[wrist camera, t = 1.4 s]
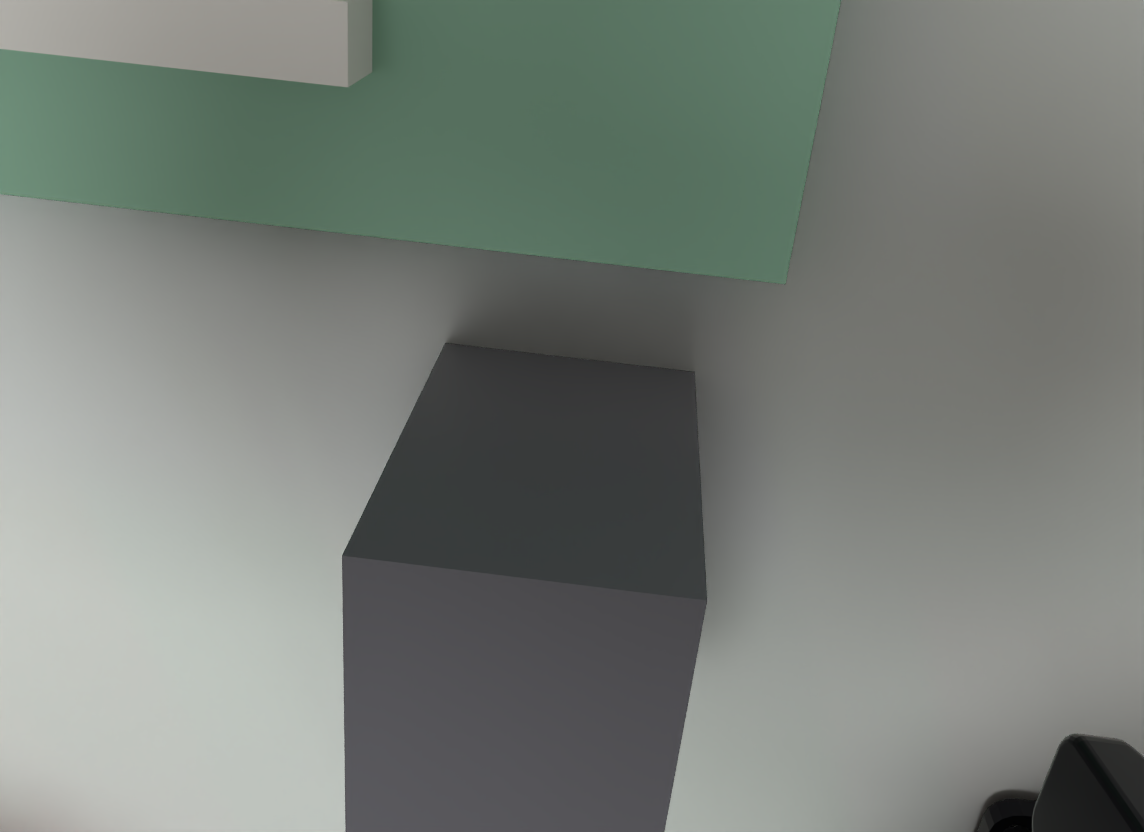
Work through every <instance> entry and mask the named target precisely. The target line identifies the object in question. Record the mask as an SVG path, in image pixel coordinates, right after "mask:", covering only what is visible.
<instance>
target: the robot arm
mask: <svg viewBox="0 0 1144 832" xmlns="http://www.w3.org/2000/svg"><path fill="white" fill-rule="evenodd" d="M1012 825H1017V826H1015V827H1010V826H1012ZM977 832H1144V757H1143V756H1142V755H1141V754H1140V753H1139V752H1137V751H1136V750H1135V749H1134V748H1133V747H1131V746H1130V745H1129V744H1127V743H1126V742H1124V741H1122V740H1119V739H1115V738H1108V737H1101V736H1093V735H1085V734H1072V735H1069V736H1067V737H1065V738H1064V739H1063V741H1062V742H1061V743H1060V745H1059V747H1058V749H1057V751H1056V754H1055V756H1054V759H1053V761H1052V764H1051V766H1050V769H1049V771H1048V774H1047V776H1046V779H1045V781H1044V783H1043V786H1042V788H1041V791H1040V793H1039V796H1038V798H1037V801H1029V800H1021V799H1005V800H1002V801H999V802H996V803H994V804H993V805H991V806H990V807H988V809H987V810H986V812H985V813H984V815H983V817H982V820H981V823H980V825H979V828H978V831H977Z"/></svg>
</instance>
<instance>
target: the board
mask: <svg viewBox="0 0 1144 832" xmlns="http://www.w3.org/2000/svg"><path fill="white" fill-rule="evenodd" d="M840 3H841V0H0V194H4V195H13V196H21V197H30V198H39V199H47V200H56V201H65V202H73V203H82V204H91V205H99V206H108V207H117V208H126V209H134V210H143V211H152V212H160V213H169V214H178V215H186V216H195V217H204V218H212V219H221V220H230V221H239V222H247V223H256V224H265V225H273V226H282V227H291V228H299V229H308V230H317V231H325V232H334V233H343V234H352V235H360V236H369V237H378V238H386V239H395V240H404V241H412V242H421V243H430V244H438V245H447V246H456V247H465V248H473V249H482V250H491V251H499V252H508V253H517V254H525V255H534V256H543V257H551V258H560V259H569V260H578V261H586V262H595V263H604V264H612V265H621V266H630V267H638V268H647V269H656V270H665V271H673V272H682V273H691V274H699V275H708V276H717V277H725V278H734V279H743V280H751V281H760V282H769V283H778V284H786V279H787V274H788V269H789V263H790V258H791V253H792V248H793V243H794V238H795V233H796V228H797V223H798V218H799V213H800V207H801V202H802V197H803V192H804V187H805V182H806V177H807V172H808V167H809V162H810V156H811V151H812V146H813V141H814V136H815V131H816V126H817V121H818V116H819V111H820V105H821V100H822V95H823V90H824V85H825V80H826V75H827V70H828V65H829V60H830V54H831V49H832V44H833V39H834V34H835V29H836V24H837V19H838V14H839V9H840Z"/></svg>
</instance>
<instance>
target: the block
mask: <svg viewBox="0 0 1144 832" xmlns="http://www.w3.org/2000/svg"><path fill="white" fill-rule="evenodd" d="M342 579H343V659H344V739H345V819H346V832H664V830H665V825H666V820H667V814H668V809H669V803H670V798H671V793H672V787H673V782H674V776H675V771H676V766H677V760H678V755H679V749H680V744H681V739H682V733H683V728H684V722H685V717H686V712H687V706H688V701H689V695H690V690H691V685H692V679H693V674H694V668H695V663H696V658H697V652H698V647H699V641H700V636H701V631H702V625H703V620H704V614H705V609H706V604H707V591H706V572H705V554H704V536H703V518H702V500H701V482H700V463H699V445H698V427H697V409H696V391H695V373H694V372H690V371H682V370H673V369H664V368H656V367H647V366H638V365H630V364H621V363H613V362H604V361H595V360H587V359H578V358H569V357H561V356H552V355H544V354H535V353H526V352H518V351H509V350H500V349H492V348H483V347H475V346H466V345H457V344H449V343H445V345H444V347H443V349H442V351H441V353H440V355H439V357H438V359H437V361H436V363H435V365H434V367H433V369H432V371H431V374H430V376H429V378H428V380H427V382H426V384H425V386H424V388H423V390H422V392H421V394H420V396H419V398H418V400H417V402H416V404H415V407H414V409H413V411H412V413H411V415H410V417H409V419H408V421H407V423H406V425H405V427H404V429H403V431H402V433H401V435H400V437H399V440H398V442H397V444H396V446H395V448H394V450H393V452H392V454H391V456H390V458H389V460H388V462H387V464H386V466H385V468H384V471H383V473H382V475H381V477H380V479H379V481H378V483H377V485H376V487H375V489H374V491H373V493H372V495H371V497H370V499H369V501H368V504H367V506H366V508H365V510H364V512H363V514H362V516H361V518H360V520H359V522H358V524H357V526H356V528H355V530H354V532H353V534H352V537H351V539H350V541H349V543H348V545H347V547H346V549H345V551H344V553H343V555H342Z"/></svg>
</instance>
